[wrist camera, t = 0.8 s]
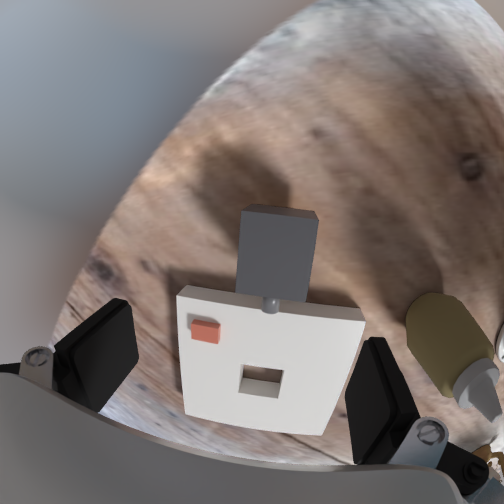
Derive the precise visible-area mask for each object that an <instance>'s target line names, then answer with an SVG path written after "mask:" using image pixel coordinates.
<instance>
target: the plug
mask: <svg viewBox="0 0 504 504" xmlns="http://www.w3.org/2000/svg"><path fill="white" fill-rule="evenodd" d="M318 223H319V219H318V218H317V216H316V214H315V212H314V211H309V210H301V209H293V208H285V207H276V206H268V205H258V204H251V205H249V206H248V207H246V208H245V209H243V210H242V211H241V222H240V234H239V247H238V261H237V274H236V288H235V293H240V294H247V295H254V296H261V297H262V304H261V310H262V312H264V313H267V314H276V313H278V311H279V305H280V299H283V300H290V301H298V302H306V298H307V292H308V287H309V281H310V275H311V269H312V263H313V257H314V250H315V244H316V237H317V230H318Z"/></svg>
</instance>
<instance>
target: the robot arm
mask: <svg viewBox="0 0 504 504" xmlns="http://www.w3.org/2000/svg"><path fill="white" fill-rule="evenodd" d="M54 347H55V350H56V352H55V353H53V352H52V351H51V350H50V349H49V348H47V347H42V346H41V347H40V346H38V347H34V348H31V349H29V350H28V351H26V352H25V353H24V355H23V357H22V360H21V363H12V364H2V365H0V504H504V486H503V485H502V484H501V483H500V482H499V481H498V480H496V479H495V478H494V477H492V478H491V479H490V478H489V467H488V465H487V463H486V462H485V461H484V460H483V459H482V458H480V457H478V456H476V455H474V454H472V453H470V452H468V451H466V450H464V449H462V448H460V447H458V446H456V445H454V444H452V443H450V442H448V438H449V432H448V429H447V427H446V425H445V424H444V423H443V422H442V421H440V420H439V419H437V418H434V417H422V418H421V417H420V415H419V412H418V410H417V407H416V405H415V402H414V400H413V397H412V395H411V392H410V390H409V388H408V385H407V383H406V381H405V378H404V376H403V374H402V372H401V371H400V369H399V367H398V365H397V363H396V361H395V358H394V356H393V354H392V352H391V350H390V348H389V345H388V343H387V341H386V339H385V338H384V337H370V338H369V339H368V340H365V341H364V343H363V346H362V349H361V351H360V354H359V357H358V360H357V363H356V365H355V368H354V371H353V373H352V376H351V378H350V381H349V383H348V386H347V388H346V391H345V402H346V409H347V415H348V422H349V429H350V437H351V444H352V453H353V461H354V464H358V465H302V464H287V463H276V462H267V461H259V460H252V459H245V458H239V457H234V456H228V455H223V454H218V453H214V452H209V451H205V450H201V449H197V448H193V447H189V446H185V445H182V444H178V443H175V442H172V441H168V440H165V439H162V438H159V437H156V436H153V435H150V434H147V433H144V432H142V431H139V430H136V429H134V428H131V427H129V426H126V425H124V424H121V423H119V422H116V421H114V420H112V419H109V418H107V417H105V416H103V415H101V414H98V412H100V410H101V409H102V408H103V407H104V405H105V404H106V403H107V401H108V400H109V399H110V397H111V396H112V395H113V393H114V392H115V391H116V390H117V388H118V387H119V386H120V384H121V383H122V382H123V381H124V379H125V378H126V377H127V375H128V374H129V373H130V372H131V370H132V369H133V368H134V366H135V365H136V364H137V362H138V359H139V354H138V348H137V342H136V336H135V329H134V322H133V315H132V308H131V306H130V305H129V303H128V302H127V301H126V300H122V299H118V298H113V299H112V300H111V301H109V302H108V303H107V304H105V305H104V306H103V307H102V308H100V309H99V310H98V311H96V312H95V313H94V314H93V315H91V316H90V317H89V318H87V319H86V320H85V321H84V322H82V323H81V324H80V325H79V326H77V327H76V328H75V329H74V330H72V331H71V332H70V333H69V334H67V335H66V336H65V337H64V338H63V339H61V340H60V341H59V342H58V343H57V344H55V345H54ZM496 355H497V357H498V359H499V360H500V361H501V362H503V363H504V324H503V326H502V328H501V331H500V333H499V336H498V340H497V344H496Z"/></svg>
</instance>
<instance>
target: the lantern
mask: <svg viewBox="0 0 504 504" xmlns="http://www.w3.org/2000/svg"><path fill="white" fill-rule="evenodd" d="M472 454H474V455H476V456H478V457H480V458H482V459H483V460H484V461H485V462H486V463H487V462H488V461H489V460H490V459H491V458H495V457H497V458H498V459H499V460H498V464H499V465H501V469H502V473H503V477H504V454H503V452H494V453H492V452H491V447H490V445H485V446H482V447H481V448H479V449H477V450H476V451H474V452H473V453H472ZM487 465H488V467H489V478H490V479H491V478H492V477H494V478H495V479H496V480H498V481H499V482H500V475H499V474H498V473H497V472H496V471H495V470H494V469H493V468H492V467H491V466H492V462H491V461H490V462H489V463H488V464H487ZM501 481H502V480H501ZM500 483H501V482H500Z"/></svg>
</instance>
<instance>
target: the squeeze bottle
mask: <svg viewBox="0 0 504 504" xmlns="http://www.w3.org/2000/svg"><path fill="white" fill-rule="evenodd" d="M406 332H407V346H408V348H409V349H410V351H411V353H412V354H413V355H414V357H415V358H416V359H417V361H418V362H419V364H420V365H421V366H422V368H423V369H424V370H425V372H426V373H427V374H428V376H429V377H430V379H431V380H432V381H433V383H434V384H435V386H436V387H437V389H438V390H439V391H440V393H441V394H442V396H445V397H448V398H452V397H454V398H455V400H456V402H457V403H458V405H459V407H460V408H464V409H466V408H470V407H473V406H474V407H476V408H477V409H478V410H479V411H480V412H481V413H482V414H483V415H484V416H485V417H486V418H487V419H488V420H489V421H490V422H491V423H493V422H495V421H496V420H498V419H499V418H500V416H501V415H502V410H501V406H500V403H499V399H498V396H497V393H496V390H495V385H496V384H497V382H498V379H499V376H500V373H499V369H498V367H497V366H496V365H495V364H494V362H493V358H494V354H495V353H494V348H493V345H492V344H491V342H490V341H489V339H488V338H487V336H486V335H485V333H484V332H483V330H482V329H481V328H480V326H479V325H478V323H477V322H476V321H475V319H474V318H473V317H472V315H471V314H470V313H469V311H468V310H467V309H466V307H465V306H464V305H463V304H462V302H461V301H459V300H458V299H457V298H455V297H454V296H449V295H445V294H440V293H431V292H429V293H426V294H424V295H421V296H420V297H419V298H417V299H416V300H415V301H414V302H413V303H412V305H411V306H410V308H409V309H408V312H407V315H406Z"/></svg>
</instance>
